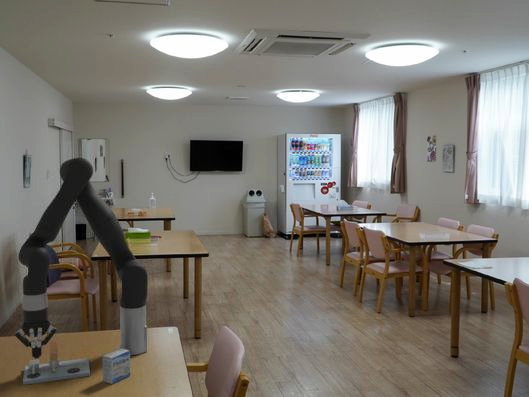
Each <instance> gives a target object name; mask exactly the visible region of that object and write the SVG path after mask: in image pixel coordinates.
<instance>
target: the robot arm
mask: <svg viewBox="0 0 529 397" xmlns="http://www.w3.org/2000/svg"><path fill="white" fill-rule="evenodd" d="M93 174H94V168H93V165H92V162H90V160H88V159H87V158H85V157H74V158H69V159H67V160H65V161H64V162H62V164H61V166H60V168H59V175H60V178H61V180H62V184H61V186H60V188H59V190H58V192H57V193H56V195H55V196H54V198H53V199H52V200H51V202H50V203H49V204H48V206H47V207H46V209H45V210H44V212H43V213H42V214H41V217H40V218H39V221H38V222H37V225H36V227H35V229H34V231H33V232H32V233H31V234H30V235H29V236H28V237H27V239H26V241H25V242H24V243H23V244H22V245H21V247H20V250H19V252H18V260H19V263H21V265H23V266H24V267H27V268H28V269H27V271H28V272H27V275H25V276H24V277H23V279H22V325H21V328H19V330H16V331H15V335H14V336H15V337H16V338H17V339H18V340H19V341H20V342H21V344H22V345H24V346H25V347H26V348H29V347H30V348H31V356H32V358H34V359H33V360H36V359H40V357H41V356H42V352H43V351H42V350H43V349H42V347H43V346H46V345H47V344H48V343H50V340H52V338H53V336H54V335H55V334H56V332H57V327H56V326H52V325H51V322H50V321H49V301H48V300H49V298H48V292H47V288H48V286H47V277H48V274H49V273H48V272H49V268H50V264H51V258H50V254H49V252H48V250H47V249H46V247H47V245H48V244H49V243H52V242H54V241H55V240H56V239H57V237H58V234H59V233H60V230H61V229H62V227H63V224H64V223H65V220H66V218H67V217H68V214H69V213H70V211H71V209H72V207H73V205H74V203H75V202H77V203H78V205H79V208H80V209H81V211H82V213H83V216H84V217H85V219H86V221H87V223H88V224H89V227H90V228H91V230H92V232H93V234H94V235H95V237H96V239H97V240H98V242H99V243H100V244H101V246H102V247H103V249H104V250H105V251H106V253H107V254H108V256H109V257H110V260H111V261H112V263H113V265H114V269H115V270H116V273H117V276H118V277H119V280H120V281H121V297H120V299H119V315H120V316H119V318H120V319H119V321H120V323H119V327H120V328H119V329H120V331H119V333H120V348H119V349H121V348H122V349H126V350H129V351H130V356H134V355H135V356H136V355H140V354H143V353H147V352H148V326H147V298H148V283H149V282H148V278H149V277H148V272H147V270H146V268H145V267H144V266H143V265H142V263H140V262H139V261H138V259H137V258H136V256H135V255H134V253H133V252H132V251H131V249H130V248H129V245H128V243H127V241H126V236H125V234H124V232H123V228H122V226H121V224H120V222H119V220H118V218H117V216H116V215H115V213H114V211H113V210H112V208H110V206H109V204H108V203H106V202H105V201H104V199H103V198H101V196H100V195H99V194H98V192H96V190H95V188H94V187H93V184H92V182H91V179H92V177H93ZM47 331H48V333H47ZM46 333H47V335H46V336H45V338H43V336H44V335H45V334H46ZM24 334H25V335H27V337H29V339H28V338H27V337H26V336H25V335H24ZM36 338H37V339H36ZM42 338H43V339H42ZM36 341H37V342H36Z"/></svg>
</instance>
